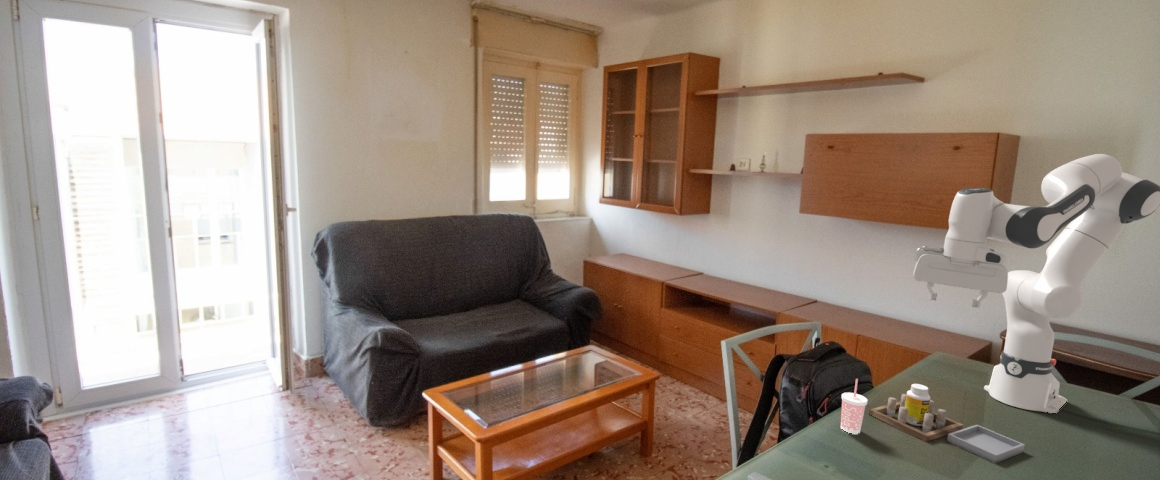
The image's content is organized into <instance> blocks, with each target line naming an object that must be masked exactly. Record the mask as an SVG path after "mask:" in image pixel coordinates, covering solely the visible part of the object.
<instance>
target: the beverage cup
mask: <svg viewBox="0 0 1160 480" xmlns="http://www.w3.org/2000/svg"><path fill="white" fill-rule="evenodd" d="M858 382H859V378H855V385H854V392H843V393H841V412H840V413H841V415H840V430H841V429H843V430H844V431H846V432H848V433H847V434H849V433H852V434H851V435H859V434H860V433H861V430H862V429H861V428H862V425H863V419H864V415H865V410H866V406H867V405H868V401H869V399H867V397H866V396H864V395H862V394H858V393H857V390H858ZM843 430H842V431H843ZM844 431H843V432H844ZM846 432H845V433H846ZM858 433H859V434H858Z"/></svg>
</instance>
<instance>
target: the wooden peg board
mask: <svg viewBox="0 0 1160 480" xmlns="http://www.w3.org/2000/svg"><path fill="white" fill-rule="evenodd" d="M906 394H907V393H902V394H901V397H900V400H899V401H898V400H897V398H895V397H888V402H887V404H884V405H881V406H878V407H877V406H876V407H873V408H870V409H868V415H869V414H870V415H869V416H871V415H872V416H871V417H873V416H874V417H873V418H875V417H876V418H875V419H877V418H878V420H879V419H880V420H879V421H882V422H883V421H884V422H883V423H886V424H888V425H890V426H892V427H895V428H896V429H899V430H901V431H902V432H904V433H907V434H908V435H910V436H913V437H915V438H916V439H917V438H918V439H920V440H921V441H923V442H930V441H933V440H936V439H939V438H943V437H945V436H948V434H950V433H953V432H956V431H959V430H962V429H964V424H962V423H960V422H958V421H957V420H953V419H951V418H949V417H947V414H948V411H947V410H946V409H941V408H938V409H937V412H935V411H934V406H935V401H934V400H932V399H930V405H929V411H928V413H925V416H924V422H923V426H922V429H921V430H919V429H918V428H917V429H916V428H915V427H912V426H910V425H908V424H907V422H906V420H907V414H908V409H907V408H906V407H905V401H906ZM896 410H897V411H898V413H897V414H898V415H897V419H895V414H896ZM934 421H935V425H934V426H935V427H934V428H935V430H934V429H933V422H934Z"/></svg>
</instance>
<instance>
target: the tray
mask: <svg viewBox="0 0 1160 480" xmlns="http://www.w3.org/2000/svg"><path fill="white" fill-rule="evenodd" d="M946 442H948V443H949V444H952V445H954V446H956V447H959V448H961V449H962V450H965V451H967V452H969V453H971V454H974V455H976V456H977V457H981V458H982V459H984V460H987V461H989V462H990V463H993V464H997V463H999V462H1001V461H1004V460H1007V459H1009V458H1012V457H1014V456H1017V455H1019V454H1022V453H1024V451H1025V445H1026V444H1025V443H1023V442H1020V441H1017V440H1015V439H1013V438H1010V437H1007V436H1005V435H1003V434H1000V433H999V432H996V431H993V430H991V429H989V428H987V427H983V426H982V425H979V424H975V425H974V424H973V425H971V426H968V427H965V428H963V429H962V430H959V431H956V432H953V433H950V434H948V435H947V439H946Z"/></svg>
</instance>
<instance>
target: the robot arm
mask: <svg viewBox="0 0 1160 480" xmlns="http://www.w3.org/2000/svg"><path fill="white" fill-rule="evenodd" d="M1040 187H1041V188H1040V190H1041V191H1040V192H1041V194H1042V197H1043V198H1044V200H1045V201H1046V202H1047V204H1048V205H1044V206H1029V205H1021V204H1012V203H1004V201H1002V200H1000V199H998V198H997V197H996V196H995V195H994V191H993V190H992V189H991V188H984V187H967V188H962V189H960V190H958V191H957V192H956V194H955V195H954V199H953V201H952V203H951V207H950V211H949V216H948V230H947V233H946V235H945V238H944V242H943V243H944V244H943V247H930V246H922V247H919V248H917V249H916V251H915V254H914V260H915V266H914V269H913V272H912V278H913V279H914V280H915V281H918V282H923V283H926V287H927V290H928V291H929V300H930V301H937V297H938V293H936V292H933V289H932V288H934V285H935V284H937V285H943V286H949V287H955V288H957V287H958V288H964V289H969V290H977V291H979V294H980V295H979V296H978V297H977V298H972V303H971V307H973V308H978V309H979V308H980V306H981V302H983V300H984V299H986V298H987V297H988V293H994V294H1002V297H1003V300H1004V306H1005V311H1006V325H1007V326H1006V336H1005V341H1004V348H1003V350H1002V351H1001V354H1000V356H999V357H1000V359H999V363H998V364H996V365H995V366H994V367H993V369H992V373H991V377H990V381H989V384H986V385H984V386H983V390H984V391H986V392H988V393H989V396H991V398H993V399H994V400H997V401H999V402H1001V403H1003V404H1005V405H1009V406H1011V407H1014V408H1015V407H1016V408H1019V409H1021V410H1022V409H1023V410H1028V411H1034V412H1041V413H1042V412H1043V413H1047V412H1048V413H1047V414H1052V413H1056V414H1057V413H1059V411H1060V410H1061V409H1062V408H1063V407H1064V406H1065V405H1066V404H1067V403H1066V401H1067V402H1068V399H1067V398H1066V397H1064V396H1062V395H1060V394H1059V391H1060V384H1061V383H1060V381H1059V380H1058V378H1056V377H1055V376H1054V374H1053V367H1055V366H1056V364H1057V359H1055V358H1052V354H1053V348H1054V343H1055V338H1056V337H1055V336H1056V335H1055V333H1054V330H1053V328H1052V326H1051V324H1050V320H1049V318H1051V319H1052V318H1053V319H1060V320H1064V319H1069V318H1071V317H1073V316H1076V315H1077V314H1078V313H1079V312H1080V311H1081V308H1082V305H1083V297H1082V287H1083V285H1084V282H1085V281H1086V278H1087V276H1088V275H1089V273H1090V272H1091V271H1092V269H1093V267H1094V266H1095V265H1096V264H1097V263H1099V261H1100V260H1101V258H1102V257H1103V256H1104V254H1105V253H1107V252H1108V250H1109V249H1110V248H1111V247H1112V246H1113V244H1114V243H1115V242H1116V241H1117V239H1118V238H1119V236H1120V235H1121V233H1122V231H1123V230H1124V228H1125V226H1126V224H1130V223H1132V222H1135V221H1139V220H1142V219H1145V218H1146V217H1147V218H1148V217H1149V216H1151V215H1152V214H1153V213H1154V212H1156V210H1157V209H1158V208H1159V206H1160V185H1159V184H1157V183H1155V182H1154V181H1151V180H1149V179H1142V178H1140V177H1138V176H1136V175H1133V174H1130V173H1127V172H1124V171H1123V167H1122V165H1121V162H1120V161H1119V160H1117V158H1115V157H1114V156H1112V155H1108V154H1105V153H1095V154H1090V155H1086V156H1083V157H1079V158H1077V159H1074V160H1071V161H1070V162H1067V163H1064V164H1062V165H1060V166H1058V167H1056V168H1054V169H1053V170H1051V171H1050V172H1048V173H1047V174H1046V175H1045V176H1044V177H1043V179H1042V181H1041V185H1040ZM1063 228H1064V229H1063ZM1062 229H1063V230H1062ZM1060 230H1062V231H1061V232H1060V233H1059V234H1058V236H1057V237H1056V238H1054V237H1055V235H1056V234H1057V233H1058V232H1059V231H1060ZM1053 238H1054V240H1053V241H1052V242H1051V244H1050V245H1049V246H1048V247H1047V248H1046V251H1045V254H1046V255H1045V256H1046V261H1045V264H1044V267H1043V268H1042V270H1041V271H1040V272H1035V271H1033V270H1027V269H1025V270H1024V269H1018V270H1017V269H1015V270H1011V271H1008V269H1007V266H1005V264H1006V263H1007V257H1006V255H1004V254H1003V253H1001V252H999V251H998V252H997V251H995V250H994V249H992V248H987V243H988V240H993V241H996V242H1003V243H1008V244H1013V245H1016V246H1019V247H1024V248H1027V249H1037V248H1040V247H1042V246H1044V245H1046V244H1047V243H1049V242H1050V241H1051V240H1052V239H1053ZM1065 403H1066V404H1065ZM1064 404H1065V405H1064ZM1063 405H1064V406H1063ZM1062 406H1063V407H1062ZM1061 407H1062V408H1061ZM1060 408H1061V409H1060ZM1059 409H1060V410H1059Z"/></svg>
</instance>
